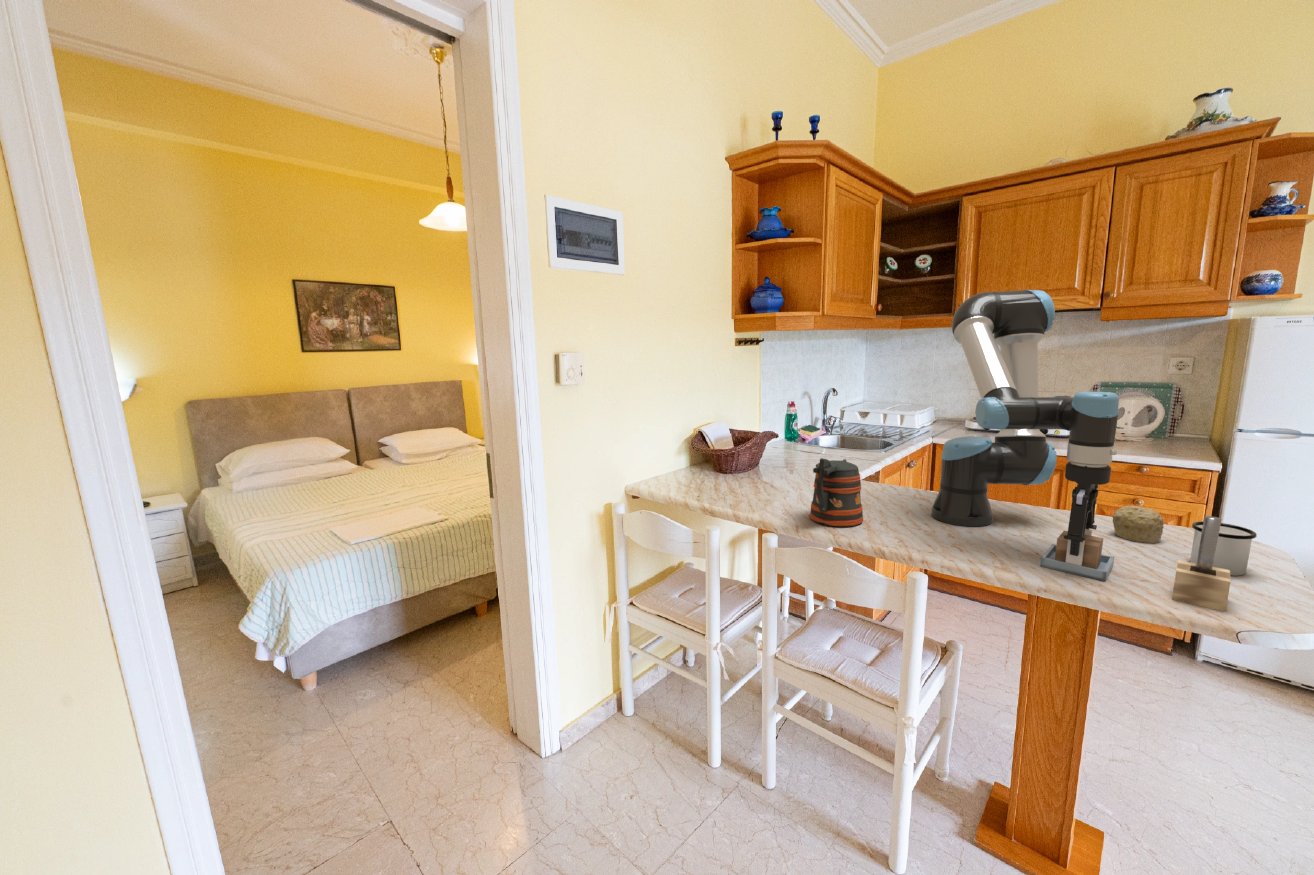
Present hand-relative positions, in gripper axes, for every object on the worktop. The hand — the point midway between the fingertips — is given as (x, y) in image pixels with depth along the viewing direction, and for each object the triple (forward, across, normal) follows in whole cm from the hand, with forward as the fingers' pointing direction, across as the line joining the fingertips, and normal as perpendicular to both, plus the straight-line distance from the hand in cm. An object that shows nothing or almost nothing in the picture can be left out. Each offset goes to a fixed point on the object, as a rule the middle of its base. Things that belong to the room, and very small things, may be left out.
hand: (1077, 561), depth 115 cm
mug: (+1, +20, -21) cm, 29 cm away
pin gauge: (0, -3, -19) cm, 19 cm away
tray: (+1, 0, 0) cm, 1 cm away
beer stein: (+1, -9, +54) cm, 55 cm away
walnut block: (0, 0, 0) cm, 0 cm away
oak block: (+1, -3, -19) cm, 19 cm away
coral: (+1, +31, -7) cm, 32 cm away
